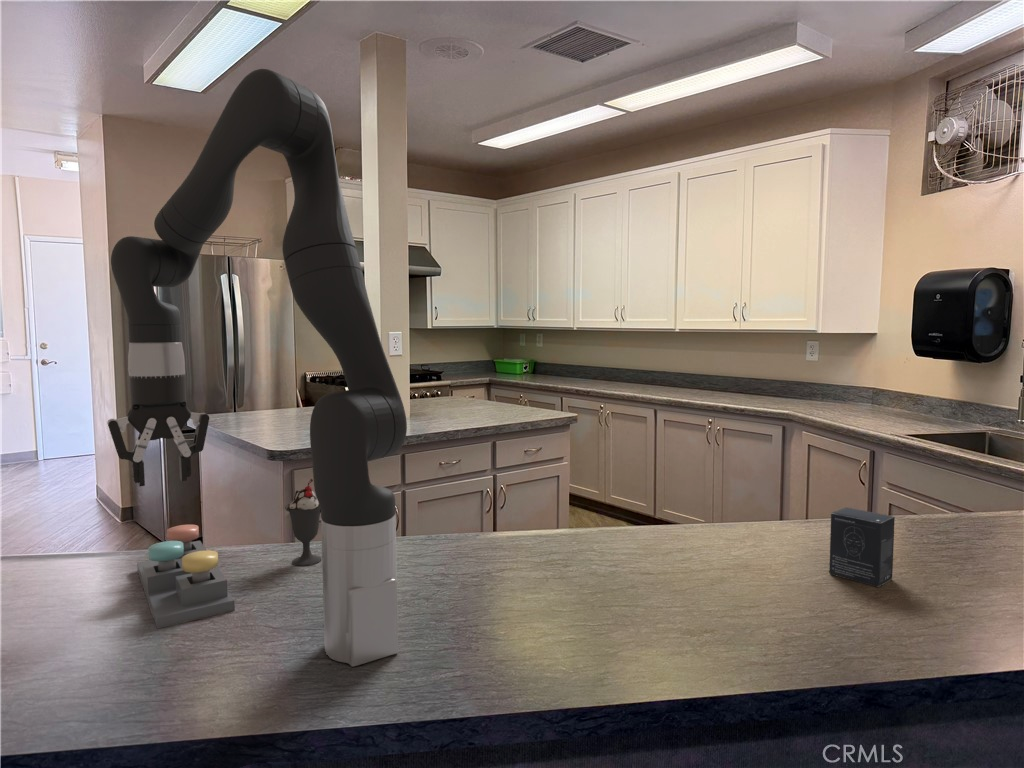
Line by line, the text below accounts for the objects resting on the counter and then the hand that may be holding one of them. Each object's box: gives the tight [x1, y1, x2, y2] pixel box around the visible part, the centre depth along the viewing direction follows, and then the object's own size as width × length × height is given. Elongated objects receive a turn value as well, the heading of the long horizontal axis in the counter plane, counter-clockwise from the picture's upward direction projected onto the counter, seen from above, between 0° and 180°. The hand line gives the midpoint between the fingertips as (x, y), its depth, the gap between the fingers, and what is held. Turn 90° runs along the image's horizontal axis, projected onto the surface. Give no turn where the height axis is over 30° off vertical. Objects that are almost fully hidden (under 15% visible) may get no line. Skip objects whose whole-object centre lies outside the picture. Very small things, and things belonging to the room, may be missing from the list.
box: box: [828, 507, 896, 588], centre depth 107 cm, size 8×6×11 cm
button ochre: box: [182, 549, 219, 584], centre depth 97 cm, size 5×5×4 cm
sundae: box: [284, 478, 322, 567], centre depth 114 cm, size 7×7×15 cm
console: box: [136, 540, 236, 629], centre depth 103 cm, size 26×10×4 cm, turn 35°
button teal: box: [147, 540, 184, 572], centre depth 101 cm, size 5×5×4 cm
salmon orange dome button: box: [166, 524, 200, 552], centre depth 110 cm, size 5×5×4 cm
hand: (163, 482), depth 100 cm, fingers open, 5 cm apart
